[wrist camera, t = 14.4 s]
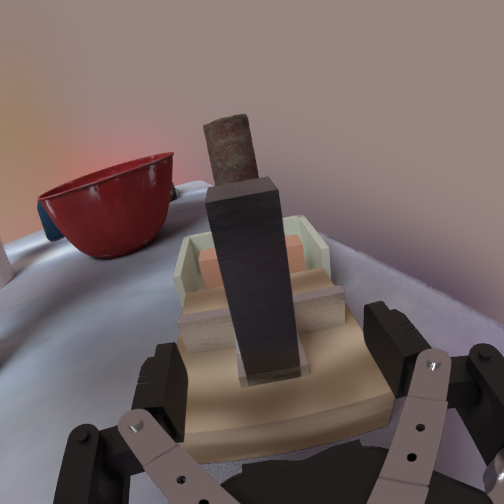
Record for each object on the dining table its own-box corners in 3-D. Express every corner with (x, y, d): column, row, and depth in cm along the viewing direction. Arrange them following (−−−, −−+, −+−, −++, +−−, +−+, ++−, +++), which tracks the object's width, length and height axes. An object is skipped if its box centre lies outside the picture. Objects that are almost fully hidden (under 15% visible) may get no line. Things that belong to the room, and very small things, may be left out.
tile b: (303, 244, 34) (297, 234, 37) (255, 252, 34) (253, 242, 37) (307, 285, 36) (301, 272, 39) (263, 293, 36) (260, 280, 39)
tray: (332, 298, 34) (329, 247, 31) (188, 326, 34) (172, 277, 31) (307, 255, 44) (302, 214, 42) (194, 277, 44) (184, 236, 42)
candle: (236, 246, 51) (212, 119, 43) (218, 235, 58) (195, 122, 49) (277, 231, 54) (257, 111, 46) (255, 222, 60) (236, 115, 52)
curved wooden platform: (388, 425, 18) (396, 389, 17) (186, 464, 18) (165, 434, 17) (325, 300, 34) (322, 267, 32) (195, 324, 34) (185, 293, 32)
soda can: (73, 232, 81) (61, 192, 76) (55, 242, 75) (41, 201, 70) (62, 232, 84) (50, 194, 79) (44, 242, 78) (31, 203, 73)
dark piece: (364, 360, 20) (364, 176, 15) (184, 395, 19) (118, 221, 15) (340, 317, 24) (330, 161, 20) (189, 346, 24) (142, 196, 19)
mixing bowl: (39, 273, 56) (14, 203, 50) (122, 221, 80) (107, 164, 74) (128, 284, 45) (97, 183, 39) (215, 215, 69) (200, 144, 63)
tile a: (245, 253, 34) (243, 242, 37) (198, 261, 34) (200, 250, 37) (252, 293, 36) (251, 280, 39) (208, 301, 36) (210, 287, 39)
